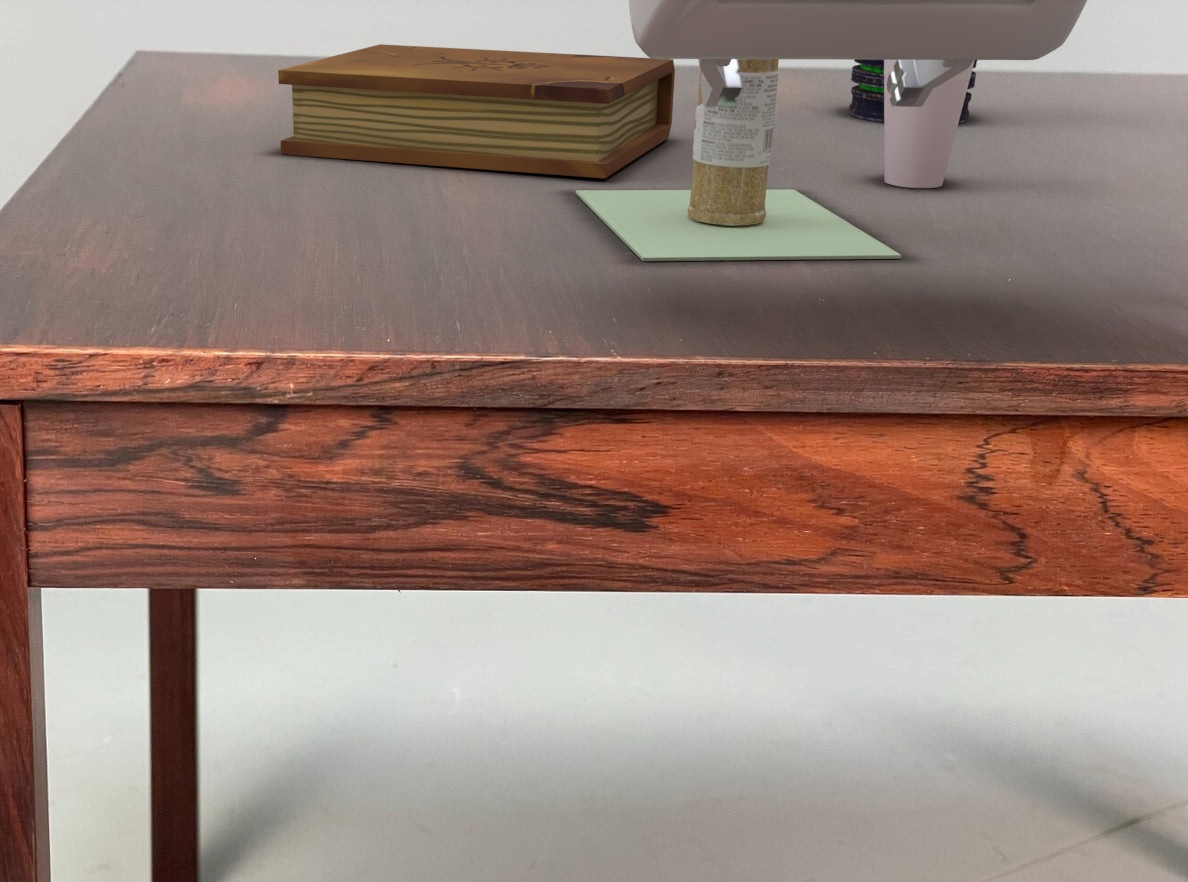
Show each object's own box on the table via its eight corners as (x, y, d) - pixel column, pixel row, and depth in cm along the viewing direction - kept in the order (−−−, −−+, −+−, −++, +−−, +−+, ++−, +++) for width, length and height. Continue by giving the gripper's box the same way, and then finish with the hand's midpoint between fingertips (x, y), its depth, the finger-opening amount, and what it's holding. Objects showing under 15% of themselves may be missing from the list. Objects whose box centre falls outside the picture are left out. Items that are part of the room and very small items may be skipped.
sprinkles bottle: (706, 208, 96) (725, -33, 91) (778, 218, 94) (802, -28, 88) (672, 221, 92) (690, -29, 87) (746, 232, 90) (769, -24, 85)
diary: (670, 138, 121) (676, 58, 118) (605, 181, 104) (610, 89, 102) (383, 116, 127) (383, 40, 125) (280, 154, 111) (278, 66, 109)
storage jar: (906, 104, 140) (929, -81, 135) (995, 120, 133) (1024, -75, 127) (822, 111, 135) (842, -81, 130) (909, 128, 128) (935, -75, 122)
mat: (901, 258, 86) (901, 254, 86) (642, 261, 84) (642, 257, 84) (793, 192, 102) (794, 189, 102) (575, 193, 100) (575, 190, 100)
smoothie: (891, 193, 103) (920, -42, 97) (846, 174, 108) (871, -48, 103) (982, 190, 104) (1016, -41, 99) (933, 172, 110) (962, -48, 104)
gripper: (1132, -171, 69) (999, 44, 82) (661, -181, 66) (600, 42, 79) (1167, -53, 67) (1025, 149, 79) (681, -59, 64) (615, 150, 77)
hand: (810, 95), depth 79 cm, fingers open, 8 cm apart
